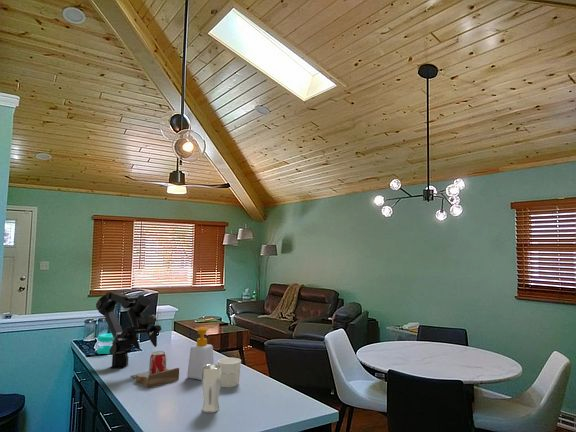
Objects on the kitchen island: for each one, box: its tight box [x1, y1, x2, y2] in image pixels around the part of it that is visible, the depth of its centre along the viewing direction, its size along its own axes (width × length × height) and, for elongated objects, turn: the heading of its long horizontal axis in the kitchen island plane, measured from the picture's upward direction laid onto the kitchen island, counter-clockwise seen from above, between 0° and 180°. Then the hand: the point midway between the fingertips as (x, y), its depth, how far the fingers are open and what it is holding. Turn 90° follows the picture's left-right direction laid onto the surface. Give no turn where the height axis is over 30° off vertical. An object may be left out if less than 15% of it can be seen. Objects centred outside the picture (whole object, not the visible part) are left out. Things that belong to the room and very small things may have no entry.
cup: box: [217, 357, 242, 388], centre depth 172 cm, size 10×10×10 cm
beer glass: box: [201, 363, 221, 414], centre depth 144 cm, size 7×7×15 cm
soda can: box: [148, 350, 167, 375], centre depth 175 cm, size 7×7×12 cm
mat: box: [130, 371, 149, 379], centre depth 181 cm, size 9×9×1 cm
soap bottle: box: [186, 326, 215, 381], centre depth 184 cm, size 10×14×22 cm
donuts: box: [96, 332, 114, 355], centre depth 222 cm, size 10×10×10 cm
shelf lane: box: [135, 367, 180, 389], centre depth 175 cm, size 11×14×5 cm
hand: (147, 347), depth 182 cm, fingers open, 9 cm apart
